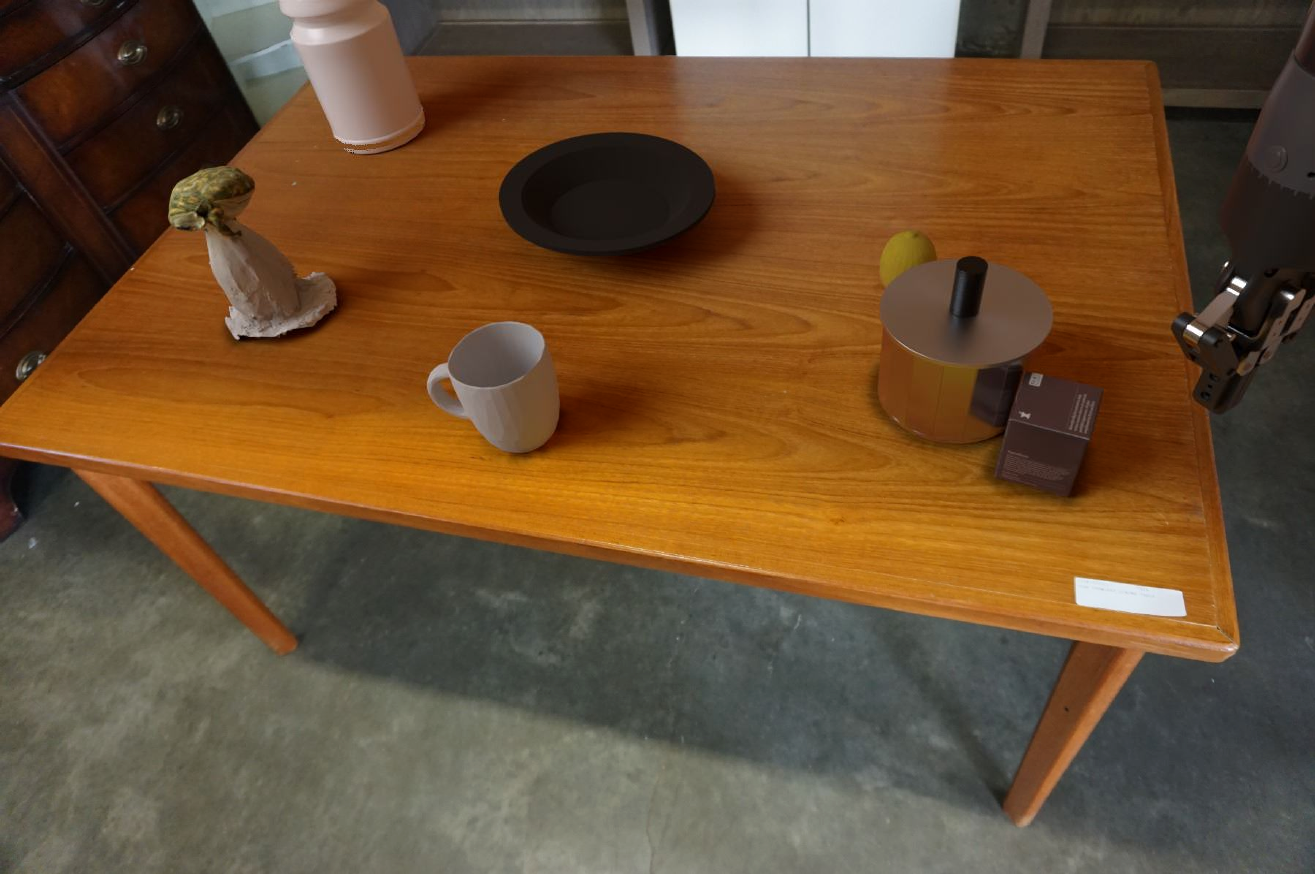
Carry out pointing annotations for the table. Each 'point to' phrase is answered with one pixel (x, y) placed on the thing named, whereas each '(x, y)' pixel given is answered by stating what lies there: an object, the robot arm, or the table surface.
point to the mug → (502, 385)
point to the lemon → (905, 254)
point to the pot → (948, 395)
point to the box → (1048, 433)
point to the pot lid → (966, 313)
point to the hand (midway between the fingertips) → (1213, 402)
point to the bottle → (356, 69)
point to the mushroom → (247, 257)
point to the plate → (607, 194)
